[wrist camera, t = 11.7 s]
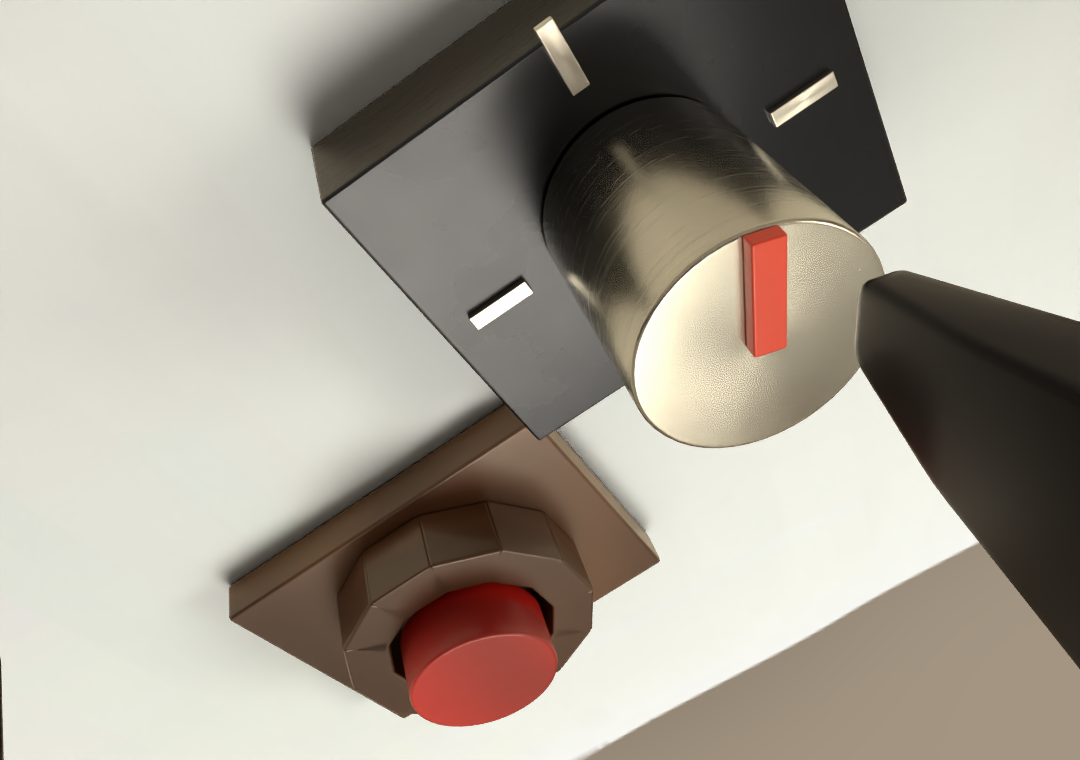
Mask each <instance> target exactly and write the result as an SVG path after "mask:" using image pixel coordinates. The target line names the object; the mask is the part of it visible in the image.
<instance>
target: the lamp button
mask: <svg viewBox="0 0 1080 760" xmlns="http://www.w3.org/2000/svg"><path fill="white" fill-rule="evenodd" d="M400 648H401V654H402V659H403V665H404V670H405V676H406V681H407V686H408V692H409V697H410V701H411V704H412V706H413V708H414V710H415V711H416V712H417V713H418V714H419V715H420V716H421V717H423V718H424V719H426V720H428V721H430V722H433V723H436V724H439V725H444V726H473V725H479V724H484V723H488V722H492V721H495V720H498V719H501V718H503V717H506V716H508V715H511V714H513V713H515V712H517V711H519V710H520V709H522V708H524V707H525V706H527V705H528V704H530V703H531V702H533V701H534V700H535V699H536V698H538V697H539V696H540V695H541V694H542V693H543V692H544V691H545V690H546V689H547V687H548V686H549V685H550V683H551V682H552V680H553V678H554V676H555V673H556V670H557V662H558V661H557V655H556V652H555V649H554V646H553V643H552V640H551V637H550V634H549V631H548V629H547V626H546V623H545V620H544V617H543V614H542V611H541V608H540V605H539V603H538V602H537V600H536V599H535V597H534V596H533V595H532V594H531V593H529V592H528V591H526V590H525V589H523V588H521V587H519V586H516V585H508V584H501V583H494V582H489V583H484V584H480V585H476V586H472V587H467V588H463V589H459V590H455V591H450V592H447V593H445V594H443V595H442V596H440V597H439V598H437V599H436V600H434V601H432V602H431V603H429V604H428V605H426V606H424V607H423V608H421V609H420V610H418V611H417V612H415V613H414V614H413V615H412V616H411V618H410V619H409V621H408V622H407V623H406V625H405V627H404V629H403V632H402V635H401V640H400Z"/></svg>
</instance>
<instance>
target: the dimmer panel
mask: <svg viewBox="0 0 1080 760" xmlns="http://www.w3.org/2000/svg"><path fill="white" fill-rule="evenodd" d="M660 97H680V98H685V99H690V100H694V101H697V102H700V103H703V104H706V105H707V106H709V107H711V108H713V109H715V110H716V111H718V112H719V113H720V114H721V115H723V116H724V117H725V118H726V119H728V120H729V121H730V122H731V123H732V124H733V125H734V126H736V127H737V128H738V129H739V130H740V131H741V132H743V133H744V134H745V135H746V136H747V137H748V138H749V139H751V140H752V141H753V142H754V143H755V144H756V145H758V146H759V147H760V148H761V149H762V150H763V151H764V152H766V153H767V154H768V155H769V156H770V157H771V158H773V159H774V160H775V161H776V162H777V163H778V164H780V165H781V166H782V167H783V168H784V169H785V170H786V171H788V172H789V173H790V174H791V175H792V176H793V177H795V178H796V179H797V180H798V181H799V182H800V183H801V184H803V185H804V186H805V187H806V188H807V189H808V190H810V191H811V192H812V193H813V194H814V195H815V196H816V197H818V198H819V199H820V200H821V201H822V202H823V203H825V204H826V205H827V206H828V207H829V208H830V209H831V210H833V211H834V212H835V213H836V214H837V215H838V216H840V217H841V218H842V219H843V220H844V221H845V222H846V223H848V224H849V225H850V226H851V227H852V228H853V229H855V230H856V231H857V232H858V233H860V232H861V231H863V230H864V229H866V228H867V227H869V226H870V225H872V224H873V223H875V222H877V221H878V220H880V219H881V218H883V217H884V216H886V215H887V214H889V213H890V212H892V211H893V210H895V209H896V208H898V207H900V206H901V205H903V204H904V203H906V201H907V199H906V196H905V192H904V189H903V186H902V183H901V180H900V176H899V173H898V170H897V167H896V163H895V160H894V157H893V154H892V151H891V147H890V144H889V141H888V138H887V134H886V131H885V128H884V125H883V122H882V118H881V115H880V112H879V109H878V106H877V102H876V99H875V96H874V93H873V89H872V86H871V83H870V80H869V77H868V73H867V70H866V67H865V64H864V60H863V57H862V54H861V51H860V48H859V44H858V41H857V38H856V35H855V32H854V28H853V25H852V22H851V19H850V15H849V12H848V9H847V6H846V3H845V0H511V1H510V2H508V3H507V4H506V5H504V6H503V7H502V8H500V9H499V10H498V11H496V12H495V13H493V14H492V15H491V16H489V17H488V18H487V19H485V20H484V21H483V22H481V23H480V24H479V25H477V26H476V27H474V28H473V29H472V30H470V31H469V32H468V33H466V34H465V35H464V36H462V37H461V38H459V39H458V40H457V41H455V42H454V43H453V44H451V45H450V46H449V47H447V48H446V49H445V50H443V51H442V52H440V53H439V54H438V55H436V56H435V57H434V58H432V59H431V60H430V61H428V62H427V63H426V64H424V65H423V66H421V67H420V68H419V69H417V70H416V71H415V72H413V73H412V74H411V75H409V76H408V77H407V78H405V79H404V80H402V81H401V82H400V83H398V84H397V85H396V86H394V87H393V88H392V89H390V90H389V91H387V92H386V93H385V94H383V95H382V96H381V97H379V98H378V99H377V100H375V101H374V102H373V103H371V104H370V105H368V106H367V107H366V108H364V109H363V110H362V111H360V112H359V113H358V114H356V115H355V116H354V117H352V118H351V119H349V120H348V121H347V122H345V123H344V124H343V125H341V126H340V127H339V128H337V129H336V130H335V131H333V132H332V133H330V134H329V135H328V136H326V137H325V138H324V139H322V140H321V141H320V142H318V143H317V144H315V145H314V146H313V147H312V148H311V151H312V156H313V161H314V166H315V172H316V177H317V182H318V187H319V192H320V198H321V202H322V204H323V205H324V207H325V208H326V209H327V210H328V211H329V212H330V213H331V214H332V215H333V216H334V218H335V219H336V220H337V221H338V222H339V223H340V224H341V225H342V226H343V227H344V228H345V230H346V231H347V232H348V233H349V234H350V235H351V236H352V237H353V238H354V239H355V240H356V242H357V243H358V244H359V245H360V246H361V247H362V248H363V249H364V250H365V251H366V253H367V254H368V255H369V256H370V257H371V258H372V259H373V260H374V261H375V262H376V263H377V265H378V266H379V267H380V268H381V269H382V270H383V271H384V272H385V273H386V274H387V276H388V277H389V278H390V279H391V280H392V281H393V282H394V283H395V284H396V285H397V286H398V288H399V289H400V290H401V291H402V292H403V293H404V294H405V295H406V296H407V297H408V299H409V300H410V301H411V302H412V303H413V304H414V305H415V306H416V307H417V308H418V309H419V311H420V312H421V313H422V314H423V315H424V316H425V317H426V318H427V319H428V320H429V322H430V323H431V324H432V325H433V326H434V327H435V328H436V329H437V330H438V331H439V332H440V334H441V335H442V336H443V337H444V338H445V339H446V340H447V341H448V342H449V343H450V345H451V346H452V347H453V348H454V349H455V350H456V351H457V352H458V353H459V354H460V355H461V357H462V358H463V359H464V360H465V361H466V362H467V363H468V364H469V365H470V366H471V367H472V369H473V370H474V371H475V372H476V373H477V374H478V375H479V376H480V377H481V378H482V380H483V381H484V382H485V383H486V384H487V385H488V386H489V387H490V388H491V389H492V390H493V392H494V393H495V394H496V395H497V396H498V397H499V398H500V399H501V400H502V401H503V403H504V404H505V405H506V406H507V407H508V408H509V409H510V410H511V411H512V412H513V413H514V415H515V416H516V417H517V418H518V419H519V420H520V421H521V422H522V423H523V424H524V426H525V427H526V428H527V429H528V430H529V431H530V432H531V433H532V434H533V435H534V436H535V438H536V439H538V440H541V439H543V438H544V437H546V436H547V435H549V434H550V433H552V432H554V431H555V430H557V429H558V428H560V427H561V426H563V425H564V424H566V423H567V422H569V421H570V420H572V419H574V418H575V417H577V416H578V415H580V414H581V413H583V412H584V411H586V410H587V409H589V408H590V407H592V406H594V405H595V404H597V403H598V402H600V401H601V400H603V399H604V398H606V397H607V396H609V395H610V394H612V393H614V392H615V391H617V390H618V389H620V388H621V387H623V386H624V383H623V381H622V380H621V378H620V376H619V374H618V373H617V371H616V369H615V367H614V366H613V364H612V362H611V360H610V359H609V357H608V355H607V354H606V352H605V350H604V348H603V347H602V345H601V343H600V341H599V340H598V338H597V336H596V334H595V333H594V331H593V329H592V327H591V326H590V324H589V322H588V320H587V319H586V317H585V315H584V313H583V312H582V310H581V308H580V306H579V305H578V303H577V301H576V299H575V298H574V296H573V294H572V292H571V291H570V289H569V287H568V285H567V284H566V282H565V280H564V278H563V277H562V275H561V273H560V271H559V270H558V268H557V266H556V265H555V263H554V261H553V259H552V257H551V255H550V253H549V250H548V247H547V244H546V240H545V236H544V228H543V211H544V204H545V198H546V194H547V191H548V187H549V184H550V181H551V179H552V177H553V174H554V172H555V170H556V168H557V166H558V165H559V163H560V161H561V159H562V158H563V156H564V155H565V153H566V152H567V151H568V149H569V148H570V147H571V145H572V144H573V143H574V142H575V141H576V140H577V139H578V138H579V137H580V136H581V135H582V133H584V132H585V131H586V130H587V129H588V128H589V127H591V126H592V125H593V124H594V123H595V122H597V121H598V120H600V119H601V118H603V117H604V116H606V115H607V114H609V113H611V112H613V111H615V110H617V109H619V108H621V107H623V106H626V105H629V104H631V103H634V102H637V101H642V100H646V99H650V98H660Z"/></svg>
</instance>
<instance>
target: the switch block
mask: <svg viewBox="0 0 1080 760" xmlns="http://www.w3.org/2000/svg"><path fill="white" fill-rule="evenodd" d="M659 561H660V560H659V556H658V554H657V552H656V550H655V548H654V546H653V544H652V542H651V540H650V538H649V536H648V535H647V533H646V532H645V531H644V530H643V529H642V528H641V527H640V525H639V524H638V523H637V522H636V521H635V520H634V519H633V517H632V516H631V515H630V514H629V513H628V512H627V511H626V509H625V508H624V507H623V506H622V505H621V504H620V503H619V501H618V500H617V499H616V498H615V497H614V496H613V495H612V493H611V492H610V491H609V490H608V489H607V488H606V487H605V486H604V484H603V483H602V482H601V481H600V480H599V479H598V478H597V476H596V475H595V474H594V473H593V472H592V471H591V470H590V468H589V467H588V466H587V465H586V464H585V463H584V462H583V460H582V459H581V458H580V457H579V456H578V455H577V454H576V452H575V451H574V450H573V449H572V448H571V447H570V446H569V444H568V443H567V442H566V441H565V440H564V439H563V438H562V436H561V435H560V434H559V433H558V432H557V431H556V430H555V431H554V432H552V433H550V434H549V435H547V436H546V437H544V438H543V439H541V440H538V439H536V438H535V436H534V435H533V434H532V433H531V432H530V431H529V430H528V429H527V428H526V427H525V426H524V424H523V423H522V422H521V421H520V420H519V419H518V418H517V417H516V416H515V415H514V413H513V412H512V411H511V410H510V409H509V408H508V407H507V406H506V405H503V406H502V407H500V408H499V409H497V410H496V411H494V412H493V413H491V414H490V415H488V416H487V417H485V418H484V419H482V420H480V421H479V422H477V423H476V424H474V425H473V426H471V427H470V428H468V429H467V430H465V431H464V432H462V433H461V434H459V435H458V436H456V437H455V438H453V439H452V440H450V441H449V442H447V443H446V444H444V445H443V446H441V447H440V448H438V449H437V450H435V451H434V452H432V453H431V454H429V455H428V456H426V457H425V458H423V459H422V460H420V461H418V462H417V463H415V464H414V465H412V466H411V467H409V468H408V469H406V470H405V471H403V472H402V473H400V474H399V475H397V476H396V477H394V478H393V479H391V480H390V481H388V482H387V483H385V484H384V485H382V486H381V487H379V488H378V489H376V490H375V491H373V492H372V493H370V494H369V495H367V496H366V497H364V498H363V499H361V500H360V501H358V502H356V503H355V504H353V505H352V506H350V507H349V508H347V509H346V510H344V511H343V512H341V513H340V514H338V515H337V516H335V517H334V518H332V519H331V520H329V521H328V522H326V523H325V524H323V525H322V526H320V527H319V528H317V529H316V530H314V531H313V532H311V533H310V534H308V535H307V536H305V537H304V538H302V539H301V540H299V541H298V542H296V543H294V544H293V545H291V546H290V547H288V548H287V549H285V550H284V551H282V552H281V553H279V554H278V555H276V556H275V557H273V558H272V559H270V560H269V561H267V562H266V563H264V564H263V565H261V566H260V567H258V568H257V569H255V570H254V571H252V572H251V573H249V574H248V575H246V576H245V577H243V578H242V579H240V580H239V581H237V582H236V583H234V584H232V585H231V586H230V588H229V618H230V620H231V621H233V622H234V623H236V624H238V625H240V626H242V627H243V628H245V629H247V630H249V631H250V632H252V633H254V634H256V635H257V636H259V637H261V638H263V639H264V640H266V641H268V642H270V643H271V644H273V645H275V646H277V647H279V648H280V649H282V650H284V651H286V652H287V653H289V654H291V655H293V656H294V657H296V658H298V659H300V660H301V661H303V662H305V663H307V664H308V665H310V666H312V667H314V668H316V669H317V670H319V671H321V672H323V673H324V674H326V675H328V676H330V677H331V678H333V679H335V680H337V681H338V682H340V683H342V684H344V685H345V686H347V687H349V688H351V689H353V690H354V691H356V692H358V693H360V694H361V695H363V696H365V697H367V698H368V699H370V700H372V701H374V702H375V703H377V704H379V705H381V706H382V707H384V708H386V709H388V710H390V711H391V712H393V713H395V714H397V715H398V716H400V717H402V718H406V717H408V716H409V715H411V714H418V713H417V712H416V711H415V710H414V708H413V706H412V704H411V701H410V697H409V692H408V686H407V681H406V676H405V670H404V665H403V659H402V654H401V648H400V640H401V635H402V632H403V629H404V627H405V625H406V623H407V622H408V621H409V619H410V618H411V616H412V615H413V614H414V613H415V612H417V611H418V610H420V609H421V608H423V607H424V606H426V605H428V604H429V603H431V602H432V601H434V600H436V599H437V598H439V597H440V596H442V595H443V594H445V593H447V592H450V591H455V590H459V589H463V588H467V587H472V586H476V585H480V584H484V583H489V582H494V583H501V584H508V585H516V586H519V587H521V588H523V589H525V590H526V591H528V592H529V593H531V594H532V595H533V596H534V597H535V599H536V600H537V602H538V603H539V605H540V608H541V611H542V614H543V617H544V620H545V623H546V626H547V629H548V631H549V634H550V637H551V640H552V643H553V646H554V649H555V652H556V655H557V661H558V662H557V670H556V672H558V671H559V670H561V668H562V667H563V666H564V664H565V663H566V662H567V661H568V659H569V658H570V657H571V655H572V654H573V653H574V651H575V650H576V649H577V648H578V646H579V645H580V644H581V642H582V641H583V640H584V639H585V637H586V636H587V635H588V633H589V632H590V629H592V612H593V602H595V601H597V600H598V599H600V598H601V597H603V596H605V595H606V594H608V593H610V592H611V591H613V590H614V589H616V588H618V587H619V586H621V585H623V584H624V583H626V582H627V581H629V580H631V579H632V578H634V577H636V576H637V575H639V574H641V573H642V572H644V571H645V570H647V569H649V568H650V567H652V566H654V565H655V564H657V563H658V562H659Z"/></svg>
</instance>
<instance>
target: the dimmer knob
mask: <svg viewBox="0 0 1080 760" xmlns="http://www.w3.org/2000/svg"><path fill="white" fill-rule="evenodd" d="M543 228H544V236H545V240H546V244H547V247H548V250H549V253H550V255H551V257H552V259H553V261H554V263H555V265H556V266H557V268H558V270H559V271H560V273H561V275H562V277H563V278H564V280H565V282H566V284H567V285H568V287H569V289H570V291H571V292H572V294H573V296H574V298H575V299H576V301H577V303H578V305H579V306H580V308H581V310H582V312H583V313H584V315H585V317H586V319H587V320H588V322H589V324H590V326H591V327H592V329H593V331H594V333H595V334H596V336H597V338H598V340H599V341H600V343H601V345H602V347H603V348H604V350H605V352H606V354H607V355H608V357H609V359H610V360H611V362H612V364H613V366H614V367H615V369H616V371H617V373H618V374H619V376H620V378H621V380H622V381H623V383H624V385H625V387H626V388H627V390H628V392H629V394H630V395H631V397H632V399H633V401H634V402H635V404H636V406H637V408H638V409H639V411H640V412H641V414H642V415H643V417H644V418H645V420H646V421H647V422H648V423H649V424H650V425H651V426H652V427H653V428H654V429H656V430H657V431H659V432H660V433H662V434H663V435H665V436H666V437H668V438H671V439H673V440H675V441H677V442H680V443H683V444H687V445H690V446H696V447H703V448H724V447H734V446H739V445H744V444H749V443H752V442H756V441H759V440H763V439H765V438H768V437H770V436H773V435H775V434H778V433H780V432H782V431H784V430H786V429H788V428H790V427H792V426H794V425H795V424H797V423H799V422H800V421H802V420H804V419H805V418H807V417H808V416H810V415H811V414H813V413H814V412H815V411H817V410H818V409H820V408H821V407H822V406H823V405H824V404H826V403H827V402H828V401H829V400H830V399H832V398H833V397H834V396H835V395H836V394H837V393H838V392H839V391H840V390H841V389H842V388H843V387H844V386H845V385H846V384H847V382H848V381H849V380H850V379H851V378H852V377H853V375H854V374H855V373H856V372H857V370H858V369H859V367H860V365H859V363H858V361H857V357H856V354H855V332H856V320H857V308H858V297H859V291H860V289H861V287H862V285H863V284H864V283H865V282H867V281H868V280H871V279H874V278H877V277H880V276H883V275H885V274H884V271H883V268H882V265H881V262H880V259H879V258H878V256H877V254H876V252H875V250H874V249H873V247H872V246H871V245H870V244H869V243H868V241H867V240H866V239H865V238H864V237H863V236H861V235H860V234H859V233H858V232H857V231H856V230H855V229H853V228H852V227H851V226H850V225H849V224H848V223H846V222H845V221H844V220H843V219H842V218H841V217H840V216H838V215H837V214H836V213H835V212H834V211H833V210H831V209H830V208H829V207H828V206H827V205H826V204H825V203H823V202H822V201H821V200H820V199H819V198H818V197H816V196H815V195H814V194H813V193H812V192H811V191H810V190H808V189H807V188H806V187H805V186H804V185H803V184H801V183H800V182H799V181H798V180H797V179H796V178H795V177H793V176H792V175H791V174H790V173H789V172H788V171H786V170H785V169H784V168H783V167H782V166H781V165H780V164H778V163H777V162H776V161H775V160H774V159H773V158H771V157H770V156H769V155H768V154H767V153H766V152H764V151H763V150H762V149H761V148H760V147H759V146H758V145H756V144H755V143H754V142H753V141H752V140H751V139H749V138H748V137H747V136H746V135H745V134H744V133H743V132H741V131H740V130H739V129H738V128H737V127H736V126H734V125H733V124H732V123H731V122H730V121H729V120H728V119H726V118H725V117H724V116H723V115H721V114H720V113H719V112H718V111H716V110H715V109H713V108H711V107H709V106H707V105H706V104H703V103H700V102H697V101H694V100H690V99H685V98H680V97H660V98H650V99H646V100H642V101H637V102H634V103H631V104H629V105H626V106H623V107H621V108H619V109H617V110H615V111H613V112H611V113H609V114H607V115H606V116H604V117H603V118H601V119H600V120H598V121H597V122H595V123H594V124H593V125H592V126H591V127H589V128H588V129H587V130H586V131H585V132H584V133H582V135H581V136H580V137H579V138H578V139H577V140H576V141H575V142H574V143H573V144H572V145H571V147H570V148H569V149H568V151H567V152H566V153H565V155H564V156H563V158H562V159H561V161H560V163H559V165H558V166H557V168H556V170H555V172H554V174H553V177H552V179H551V181H550V184H549V187H548V191H547V194H546V198H545V204H544V211H543Z"/></svg>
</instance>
